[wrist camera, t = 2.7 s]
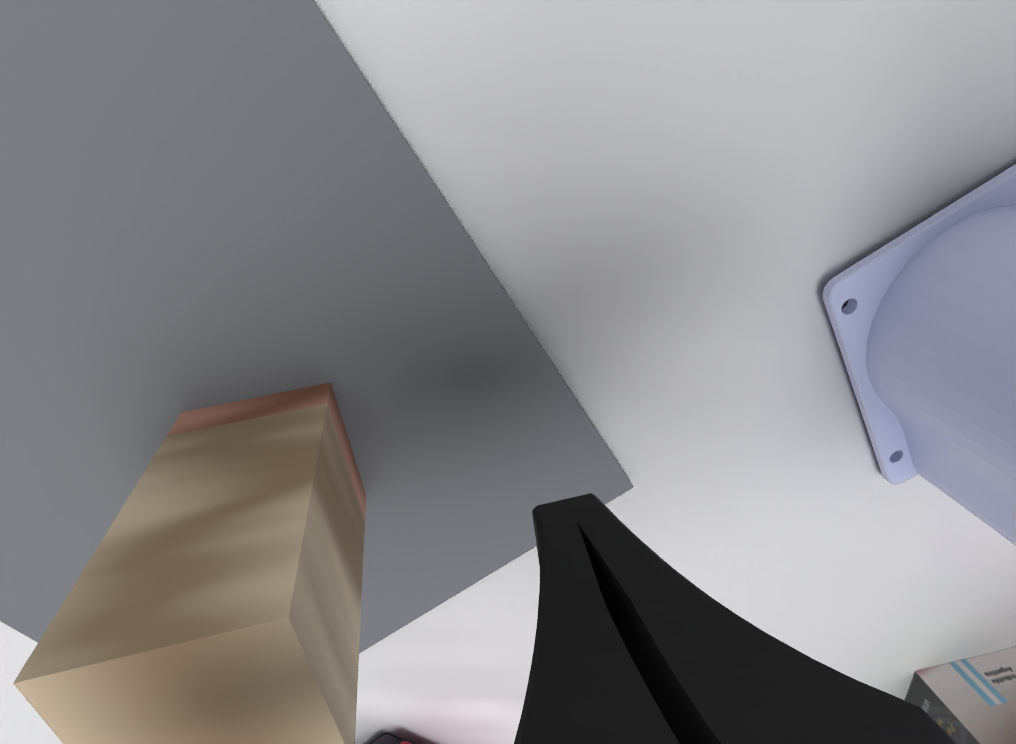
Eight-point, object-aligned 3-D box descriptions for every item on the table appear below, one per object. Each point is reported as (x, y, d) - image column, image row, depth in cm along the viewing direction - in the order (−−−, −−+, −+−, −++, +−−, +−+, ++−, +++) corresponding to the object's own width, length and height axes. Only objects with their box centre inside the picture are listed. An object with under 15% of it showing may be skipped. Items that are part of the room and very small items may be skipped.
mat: (630, 481, 20) (633, 486, 20) (215, 733, 22) (213, 741, 21) (176, -209, 11) (170, -217, 10) (-490, 327, 12) (-510, 332, 12)
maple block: (330, 382, 16) (288, 617, 9) (366, 495, 18) (353, 763, 11) (181, 412, 16) (12, 683, 9) (232, 525, 17) (130, 823, 10)
